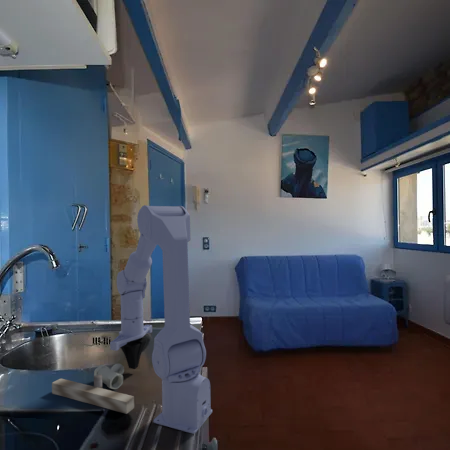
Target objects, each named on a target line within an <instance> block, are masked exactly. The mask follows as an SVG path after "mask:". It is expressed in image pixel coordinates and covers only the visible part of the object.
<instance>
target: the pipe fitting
mask: <svg viewBox="0 0 450 450" xmlns="http://www.w3.org/2000/svg"><path fill="white" fill-rule="evenodd" d="M124 372H125V367H124V365H122V364H121V363H115V364H113V365H112V366H111V367H109V366H106V365H104V364H99V366H97V367H96V368H95V369H94V372H93V377H94V376H95V375H102V384H105V385H106V388H107V387H108V388H109V389H112V390H113V391H114V390H118V389H119V388H120V387H122V385H123V384H124V376H123V374H124Z"/></svg>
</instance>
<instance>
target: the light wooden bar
mask: <svg viewBox="0 0 450 450" xmlns="http://www.w3.org/2000/svg"><path fill="white" fill-rule="evenodd" d="M51 394H52V395H57V396H61V397H63V398H68V399H71V400H75V401H78V402H82V403H86V404H89V405H94V406H97V407H100V408H104V409H108V410H111V411H115V412H118V413H122V414H125V415H127V414H129V413H130V412H131V411H133V409H135V396H134V395H129V394H127V393H122V392H117V391H114V390H110V389H106V388H103V382H102V375H95V376H94V375H93V385H89V384H86V383H81V382H78V381H77V382H76V381H74V380H69V379H64V378H61V377H60V378H59V379H57V380H55V381H53V382H51Z"/></svg>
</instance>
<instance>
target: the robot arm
mask: <svg viewBox="0 0 450 450" xmlns="http://www.w3.org/2000/svg"><path fill="white" fill-rule="evenodd" d="M136 219H137V228H138V230H139V239H138V242H137V246H136V250H135V251H133V252H131V253H130V254H129V257H128V260H127V262H126V265H125V267H124V270H123V269H122V270H121V271H119V272H117V275H116V288H117V291H118V294H119V296H120V331H118V336H116V338H114V339H113V340H112V341H110V342H109V347H110V349H109V350H111V351H115V352H116V351H119V350H120V349H121V351H122V352H123V354H124V357H125V360H126V362H127V363H126V364H127V366H128V369H132V370H135V369H138V367H139V364H140V359H141V355H142V352H143V349H144V347H145V345H146V344H147V338H143V337H144V336H145V335H147V334H151V333H153V325H152V324H145V325H144V299H145V297H146V290H147V285H148V284H147V283H148V282H147V276H148V273H149V270H150V269H151V266H152V264H153V259H152V254H153V252H154V250H155V249H156V247H157V246H159V248H160V249H161V250H162V274H163V275H162V277H163V305H164V306H163V309H164V312H163V313H164V314H163V315H164V326H163V327H162V328H161V330H160V331H159V332H158V333H157V335H155V336H154V339H153V341H154V342H153V350H152V354H151V362H152V363H151V364H152V367H153V371H154V373H155V375H157V377H159V378H160V379H161V399H162V401H161V403H162V407H161V408H162V412H160V413H159V414H158V415H157V416H156V417H155V418H154V419H153V423H154V424H157V425H160V426H161V425H162V426H164V427H169V428H172V429H174V430H179V431H182V432H186V433H190V434H196V433H197V432H198V431H199V429H201V427H202V426H203V425H204V423H205V422H206V421H207V419H208V418H209V417H210V416H211V414H212V413H213V409H212V407H211V399H212V398H211V395H212V394H211V382H210V379H209V378H207V377H205V376H203V375H202V374H200V373H201V367H203V366H204V364H205V362H206V359H207V349H206V347H205V343H204V339H203V338H204V337H203V332H202V331H201V330H200V329H198V328H197V327H195V326H194V325H192V324H191V314H190V308H191V307H190V284H189V282H190V281H189V280H190V279H189V277H190V276H189V275H190V274H189V247H188V243H189V242H190V241H191V214H190V213H189V212H188V210H187V209H186V208H185V207H184V206H182V205H177V206H174V205H173V206H170V205H166V206H165V205H163V206H161V205H147V204H146V205H145V204H144V205H142V206H141V208H140V209H139V210H138V212H137V218H136Z"/></svg>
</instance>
